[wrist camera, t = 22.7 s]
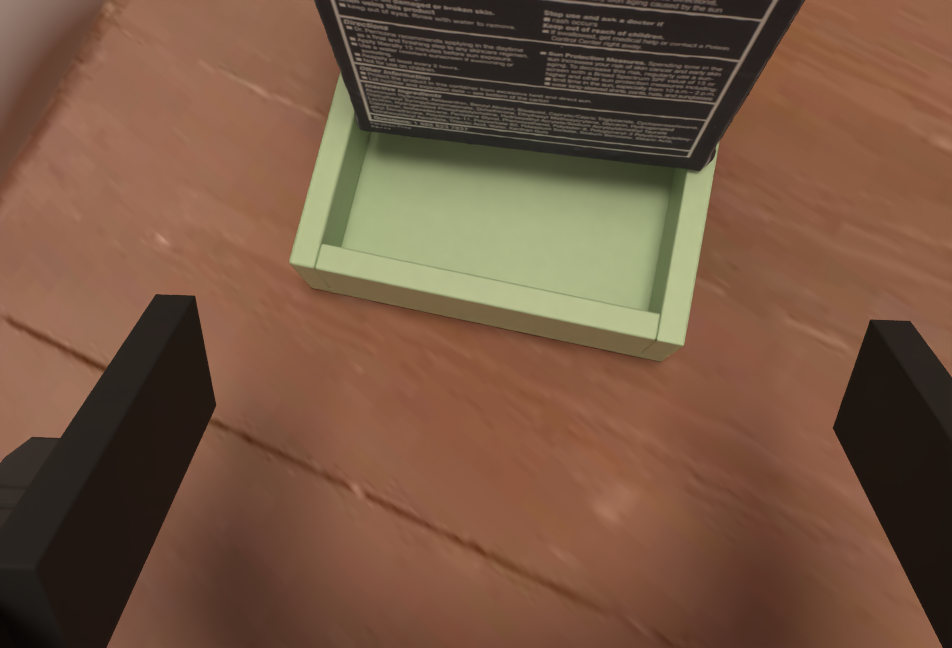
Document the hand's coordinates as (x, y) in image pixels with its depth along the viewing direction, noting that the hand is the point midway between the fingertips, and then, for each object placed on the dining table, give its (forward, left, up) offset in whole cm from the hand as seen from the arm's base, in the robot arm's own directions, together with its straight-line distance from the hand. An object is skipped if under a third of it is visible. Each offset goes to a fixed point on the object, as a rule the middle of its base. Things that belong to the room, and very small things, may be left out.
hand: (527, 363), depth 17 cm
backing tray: (-1, +10, -10) cm, 14 cm away
